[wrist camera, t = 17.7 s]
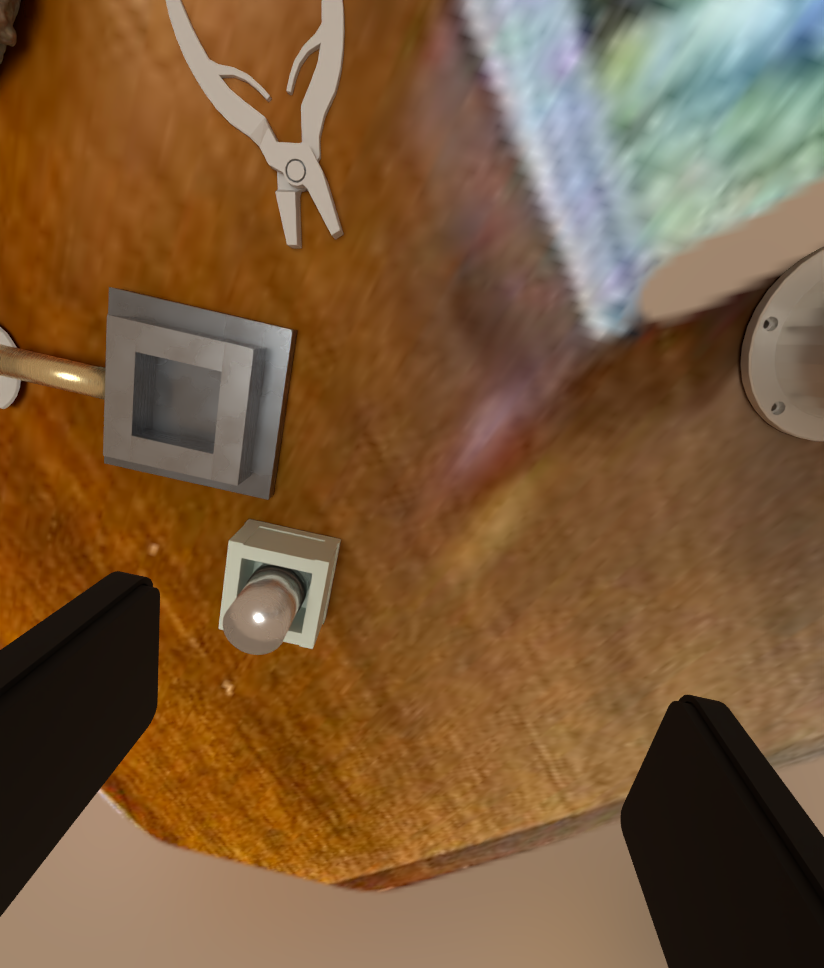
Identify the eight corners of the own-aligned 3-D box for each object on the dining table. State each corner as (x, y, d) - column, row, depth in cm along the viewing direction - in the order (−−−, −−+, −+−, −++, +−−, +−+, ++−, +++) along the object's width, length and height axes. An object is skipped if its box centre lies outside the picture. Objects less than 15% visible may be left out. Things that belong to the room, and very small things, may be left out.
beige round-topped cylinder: (317, 556, 36) (291, 606, 29) (309, 603, 37) (282, 661, 30) (263, 544, 36) (224, 591, 29) (256, 592, 37) (218, 648, 30)
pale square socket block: (341, 539, 36) (330, 562, 32) (325, 618, 38) (314, 649, 34) (248, 518, 36) (227, 540, 32) (238, 599, 38) (217, 628, 34)
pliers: (322, -98, 24) (391, 219, 28) (329, -72, 26) (393, 225, 30) (147, -37, 25) (239, 260, 29) (163, -16, 27) (248, 264, 31)
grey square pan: (297, 330, 32) (281, 329, 28) (273, 494, 35) (256, 511, 32) (23, 266, 31) (-28, 256, 28) (27, 439, 35) (-17, 450, 31)
